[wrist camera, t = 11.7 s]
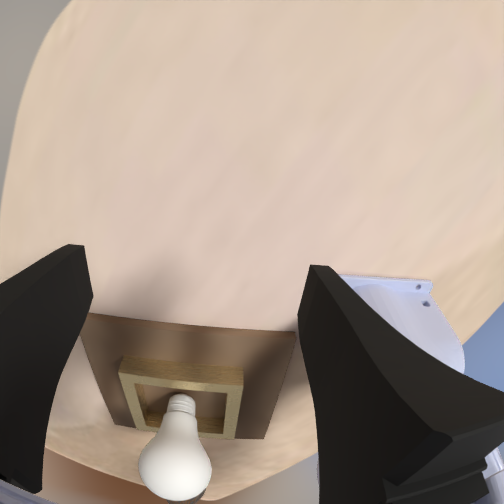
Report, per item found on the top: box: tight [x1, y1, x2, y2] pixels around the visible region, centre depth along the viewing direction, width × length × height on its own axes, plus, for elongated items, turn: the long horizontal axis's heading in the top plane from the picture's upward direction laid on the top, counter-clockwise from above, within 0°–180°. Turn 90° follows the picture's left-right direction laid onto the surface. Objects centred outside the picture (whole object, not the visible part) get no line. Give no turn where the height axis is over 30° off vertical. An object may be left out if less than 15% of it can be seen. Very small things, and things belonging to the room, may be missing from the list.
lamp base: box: [80, 313, 296, 439], centre depth 29 cm, size 18×18×1 cm
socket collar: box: [118, 355, 243, 439], centre depth 28 cm, size 10×10×2 cm
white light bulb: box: [138, 394, 212, 501], centre depth 24 cm, size 6×6×11 cm
